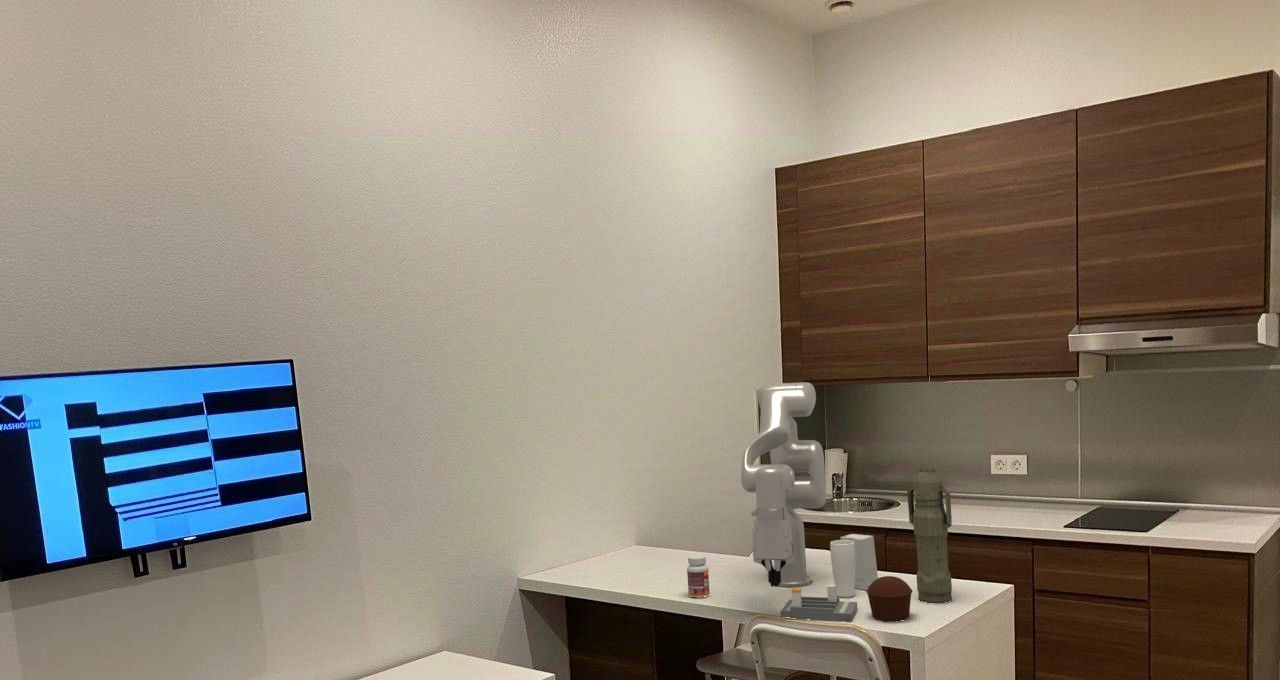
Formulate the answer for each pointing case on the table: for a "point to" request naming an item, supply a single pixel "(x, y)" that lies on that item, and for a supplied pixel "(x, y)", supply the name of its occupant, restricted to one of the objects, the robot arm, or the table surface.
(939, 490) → the green vase with handles
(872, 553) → the skincare box
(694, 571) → the pill bottle
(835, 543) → the drinking glass
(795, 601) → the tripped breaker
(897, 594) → the muffin
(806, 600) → the grey ridged tray
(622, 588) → the table surface
